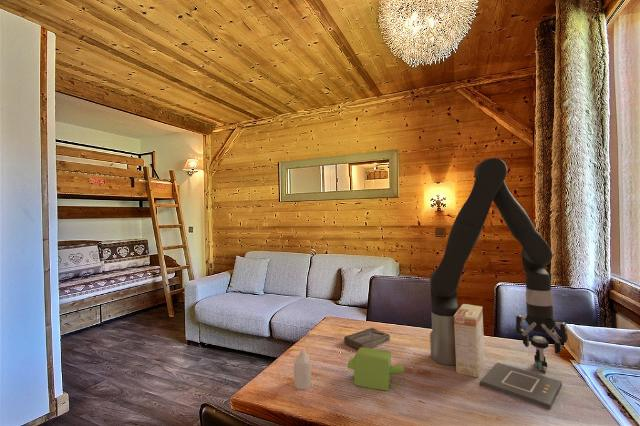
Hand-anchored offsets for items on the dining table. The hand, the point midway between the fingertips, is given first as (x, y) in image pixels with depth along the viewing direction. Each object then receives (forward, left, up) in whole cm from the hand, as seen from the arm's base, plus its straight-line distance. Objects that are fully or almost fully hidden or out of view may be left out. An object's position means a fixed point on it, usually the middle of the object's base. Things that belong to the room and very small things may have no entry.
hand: (541, 349), depth 107 cm
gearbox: (-36, -44, -7) cm, 58 cm away
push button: (0, 0, -7) cm, 7 cm away
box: (-58, -22, -7) cm, 62 cm away
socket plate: (-2, -16, -6) cm, 18 cm away
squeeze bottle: (-52, -62, -7) cm, 82 cm away
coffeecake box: (-18, -14, -7) cm, 24 cm away
